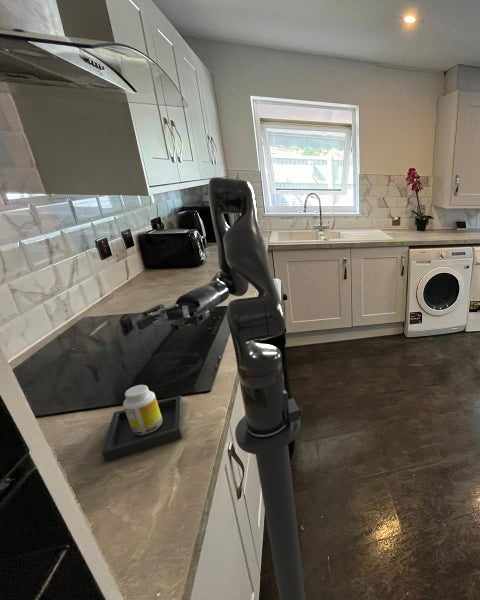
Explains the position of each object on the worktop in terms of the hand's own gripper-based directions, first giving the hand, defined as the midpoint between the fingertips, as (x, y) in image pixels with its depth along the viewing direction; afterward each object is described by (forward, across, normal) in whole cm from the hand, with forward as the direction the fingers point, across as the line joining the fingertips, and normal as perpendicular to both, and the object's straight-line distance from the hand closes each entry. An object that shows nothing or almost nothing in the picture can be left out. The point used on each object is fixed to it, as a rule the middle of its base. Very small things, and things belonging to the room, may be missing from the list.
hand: (155, 327), depth 77 cm
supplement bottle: (+12, +3, +19) cm, 23 cm away
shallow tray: (+12, +3, +20) cm, 23 cm away
